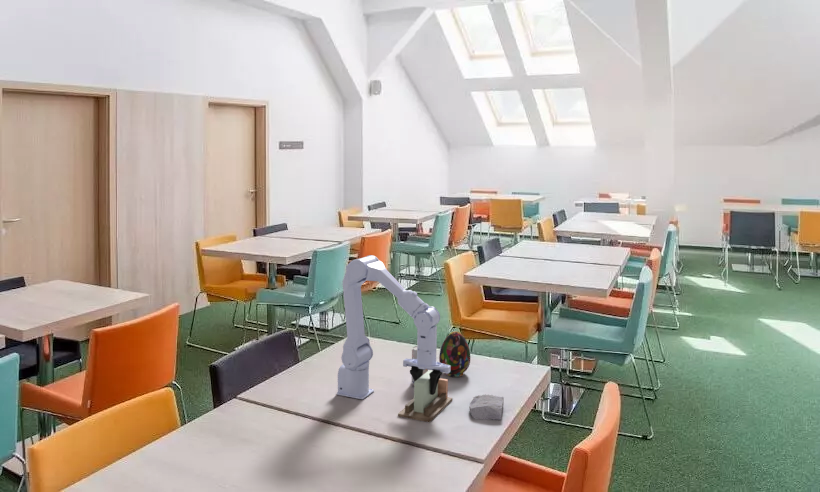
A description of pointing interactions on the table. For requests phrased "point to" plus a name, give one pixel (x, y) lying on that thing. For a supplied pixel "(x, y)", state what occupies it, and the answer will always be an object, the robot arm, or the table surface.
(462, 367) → the egg
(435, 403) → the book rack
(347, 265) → the robot arm
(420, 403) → the book
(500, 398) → the stone block
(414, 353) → the energy drink
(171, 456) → the table surface
